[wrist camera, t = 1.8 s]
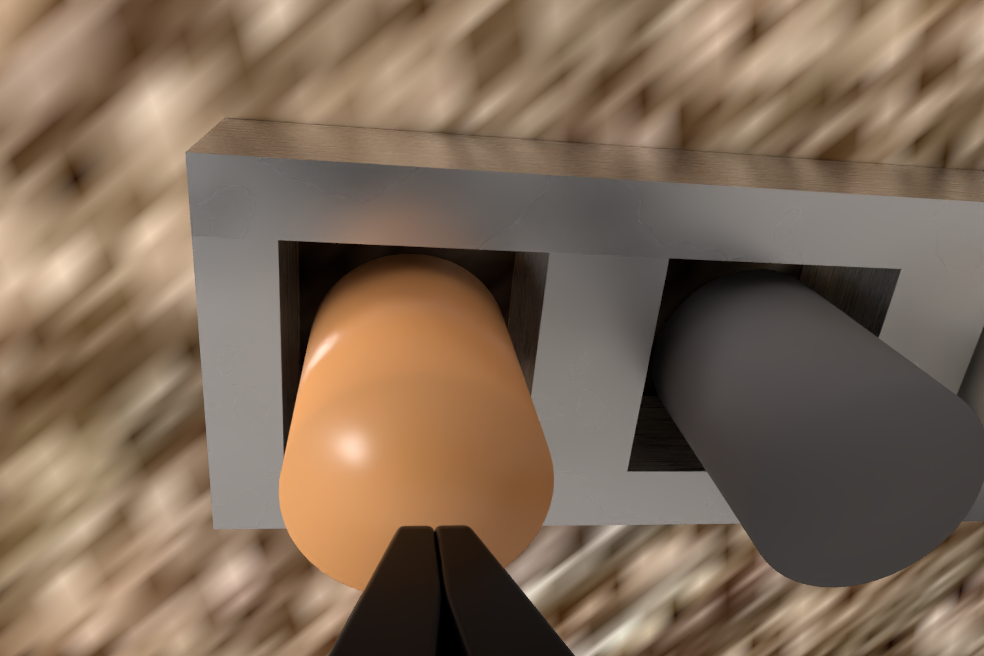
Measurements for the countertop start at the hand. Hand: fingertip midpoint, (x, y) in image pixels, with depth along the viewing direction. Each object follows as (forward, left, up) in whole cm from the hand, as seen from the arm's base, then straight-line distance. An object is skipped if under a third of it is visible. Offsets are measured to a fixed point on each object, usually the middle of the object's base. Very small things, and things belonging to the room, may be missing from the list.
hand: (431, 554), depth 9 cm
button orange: (0, 0, -5) cm, 6 cm away
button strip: (-6, 0, -8) cm, 10 cm away
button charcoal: (-6, 0, -6) cm, 8 cm away
